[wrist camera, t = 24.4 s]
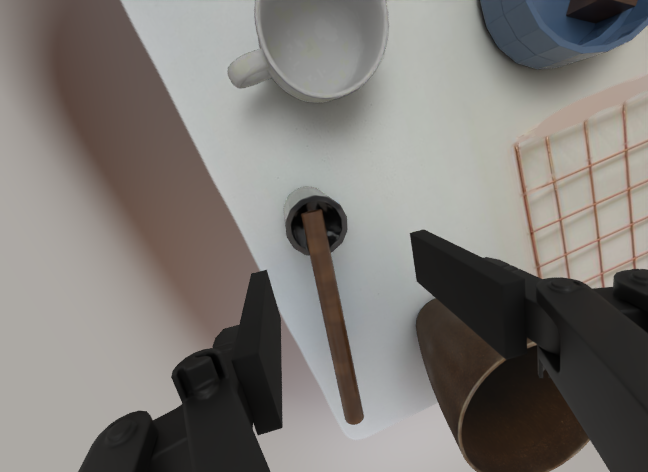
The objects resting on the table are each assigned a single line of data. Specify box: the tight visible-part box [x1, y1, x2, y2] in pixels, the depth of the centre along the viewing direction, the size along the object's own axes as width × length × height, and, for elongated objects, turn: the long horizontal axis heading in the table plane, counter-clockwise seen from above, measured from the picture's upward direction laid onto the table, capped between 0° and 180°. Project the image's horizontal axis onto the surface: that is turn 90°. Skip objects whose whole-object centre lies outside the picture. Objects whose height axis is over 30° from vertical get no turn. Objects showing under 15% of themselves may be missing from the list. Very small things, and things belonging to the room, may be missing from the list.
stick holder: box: [284, 186, 347, 256], centre depth 31 cm, size 5×6×9 cm
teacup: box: [228, 0, 389, 103], centre depth 27 cm, size 14×11×8 cm
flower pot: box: [416, 298, 590, 472], centre depth 34 cm, size 15×15×16 cm
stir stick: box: [301, 209, 364, 425], centre depth 27 cm, size 2×2×20 cm
